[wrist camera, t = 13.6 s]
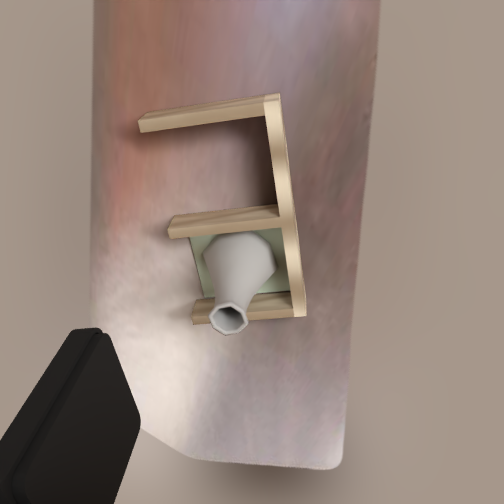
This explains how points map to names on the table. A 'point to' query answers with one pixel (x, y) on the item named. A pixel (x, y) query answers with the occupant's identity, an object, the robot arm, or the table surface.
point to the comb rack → (244, 210)
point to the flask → (237, 276)
